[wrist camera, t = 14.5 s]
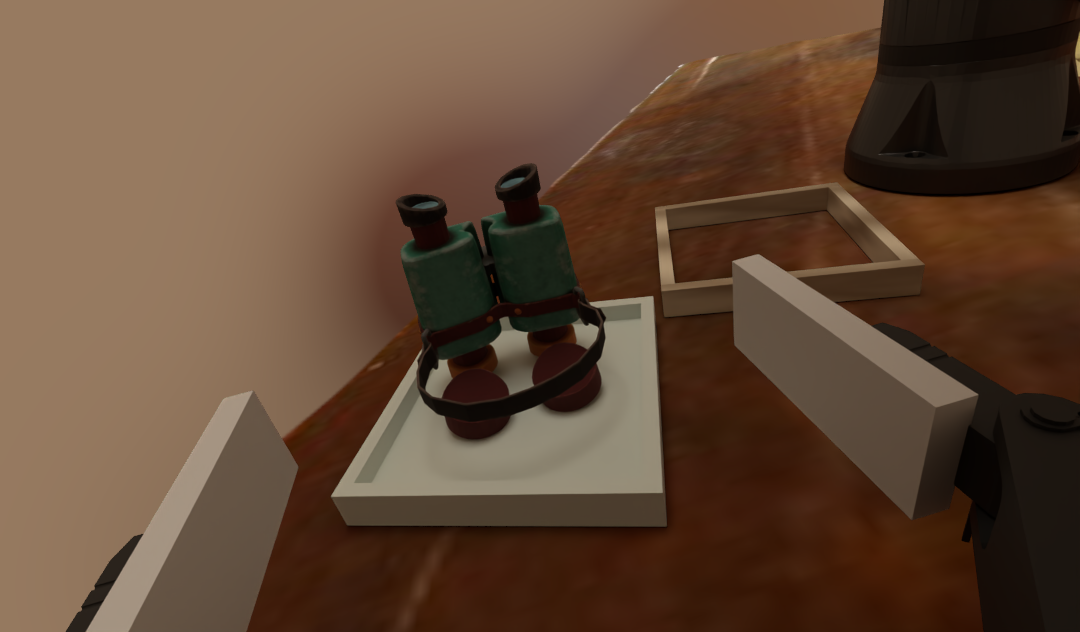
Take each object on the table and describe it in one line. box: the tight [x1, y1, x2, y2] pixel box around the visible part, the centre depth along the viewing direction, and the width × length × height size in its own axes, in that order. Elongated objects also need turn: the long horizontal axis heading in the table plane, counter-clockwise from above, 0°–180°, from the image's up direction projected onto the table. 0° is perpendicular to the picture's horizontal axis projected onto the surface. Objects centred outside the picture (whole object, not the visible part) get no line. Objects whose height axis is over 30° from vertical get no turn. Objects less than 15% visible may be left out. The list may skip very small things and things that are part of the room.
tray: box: [331, 296, 667, 527], centre depth 27 cm, size 14×13×2 cm
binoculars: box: [396, 163, 606, 439], centre depth 24 cm, size 9×11×10 cm
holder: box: [655, 182, 925, 317], centre depth 36 cm, size 15×14×2 cm
